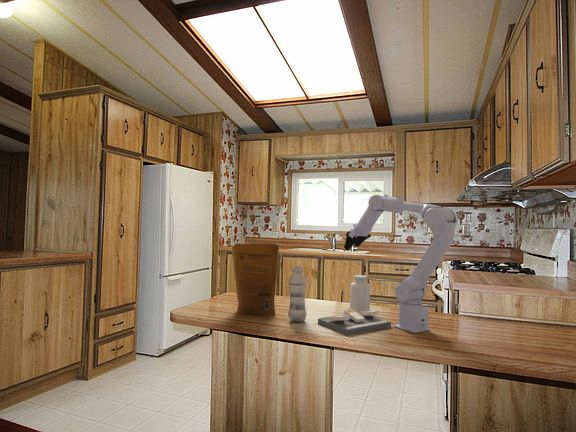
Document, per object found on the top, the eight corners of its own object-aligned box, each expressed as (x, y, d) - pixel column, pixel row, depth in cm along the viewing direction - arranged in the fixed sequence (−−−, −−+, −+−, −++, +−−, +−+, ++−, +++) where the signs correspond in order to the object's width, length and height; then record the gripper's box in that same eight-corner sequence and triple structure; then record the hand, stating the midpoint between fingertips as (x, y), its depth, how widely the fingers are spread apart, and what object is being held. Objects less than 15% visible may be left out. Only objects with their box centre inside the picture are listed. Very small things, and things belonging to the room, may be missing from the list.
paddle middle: (364, 321, 130) (364, 317, 130) (356, 322, 128) (357, 319, 128) (351, 311, 136) (351, 308, 136) (343, 313, 134) (344, 309, 134)
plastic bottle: (304, 324, 132) (305, 268, 132) (286, 323, 133) (287, 267, 134) (307, 320, 138) (308, 266, 139) (289, 318, 140) (290, 265, 140)
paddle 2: (379, 314, 134) (378, 310, 134) (371, 315, 132) (371, 311, 132) (365, 314, 139) (365, 310, 140) (358, 315, 138) (357, 311, 138)
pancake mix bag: (275, 317, 141) (276, 244, 141) (229, 313, 146) (230, 242, 147) (280, 313, 147) (281, 243, 148) (236, 309, 153) (237, 241, 153)
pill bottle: (371, 315, 147) (372, 277, 147) (351, 315, 147) (351, 277, 147) (367, 310, 155) (368, 274, 155) (348, 310, 155) (348, 274, 155)
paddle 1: (349, 319, 126) (349, 315, 127) (341, 320, 124) (341, 316, 125) (336, 319, 132) (336, 315, 132) (328, 320, 130) (328, 316, 130)
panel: (390, 327, 131) (390, 319, 131) (347, 335, 120) (347, 327, 120) (359, 317, 144) (359, 310, 144) (317, 323, 133) (318, 316, 133)
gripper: (368, 213, 153) (352, 238, 159) (350, 217, 142) (334, 244, 148) (381, 223, 150) (365, 248, 156) (364, 229, 139) (346, 255, 145)
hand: (350, 247), depth 152 cm, fingers open, 7 cm apart
